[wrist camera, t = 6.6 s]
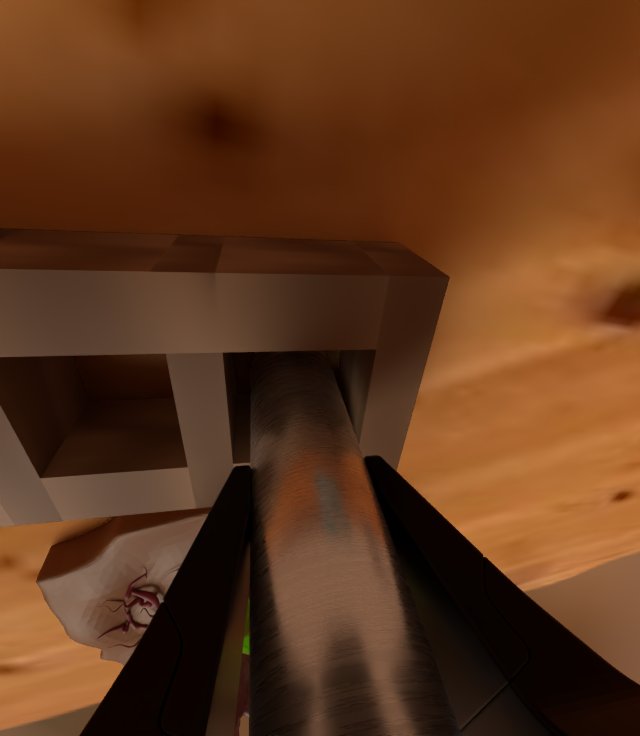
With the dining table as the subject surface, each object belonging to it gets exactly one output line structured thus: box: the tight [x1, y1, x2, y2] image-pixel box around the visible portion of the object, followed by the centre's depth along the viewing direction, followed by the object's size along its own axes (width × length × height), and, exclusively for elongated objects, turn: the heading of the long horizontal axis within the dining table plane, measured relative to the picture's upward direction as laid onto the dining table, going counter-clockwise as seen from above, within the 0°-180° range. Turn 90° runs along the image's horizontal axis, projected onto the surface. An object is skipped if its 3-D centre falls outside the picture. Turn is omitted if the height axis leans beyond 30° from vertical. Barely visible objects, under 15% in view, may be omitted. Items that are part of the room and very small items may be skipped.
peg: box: [249, 350, 462, 736], centre depth 8 cm, size 3×3×12 cm
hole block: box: [0, 228, 450, 527], centre depth 12 cm, size 20×9×4 cm, turn 86°
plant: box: [36, 507, 250, 736], centre depth 19 cm, size 20×20×11 cm
